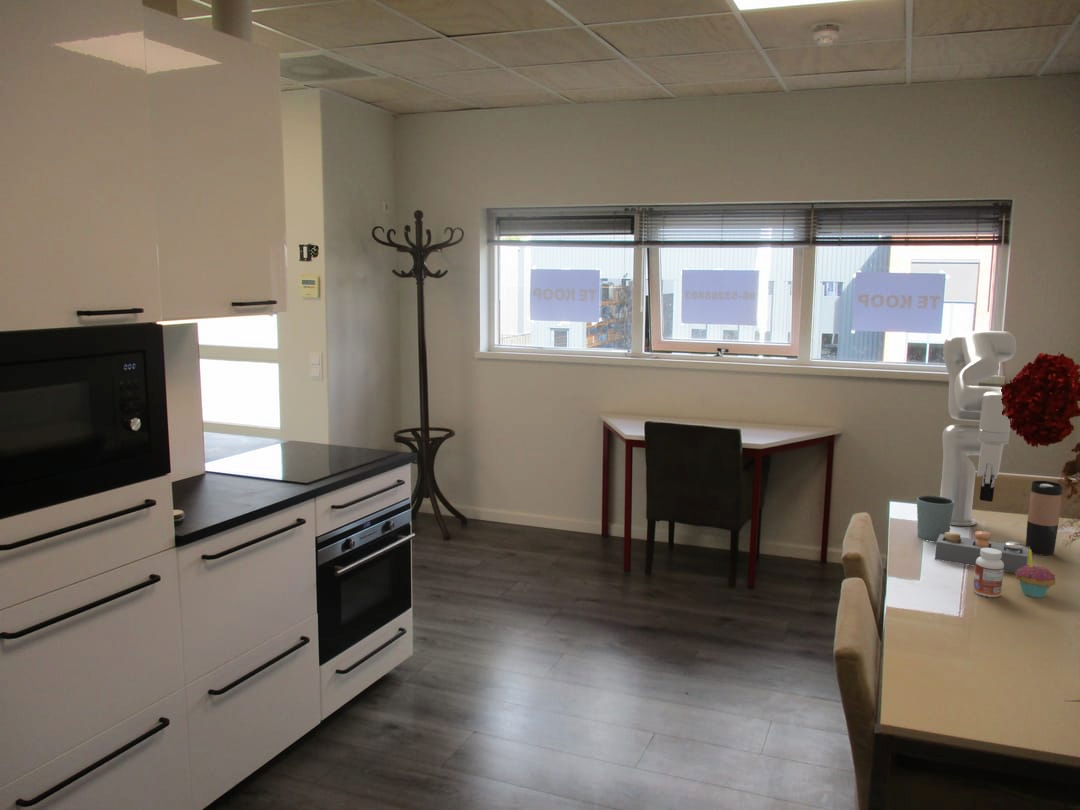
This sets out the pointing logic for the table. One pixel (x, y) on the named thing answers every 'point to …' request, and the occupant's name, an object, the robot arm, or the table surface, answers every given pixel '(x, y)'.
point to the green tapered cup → (933, 516)
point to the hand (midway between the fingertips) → (986, 500)
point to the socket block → (977, 553)
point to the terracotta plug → (982, 538)
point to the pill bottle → (988, 573)
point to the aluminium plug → (1013, 546)
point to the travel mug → (1043, 517)
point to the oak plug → (952, 537)
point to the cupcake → (1034, 579)
